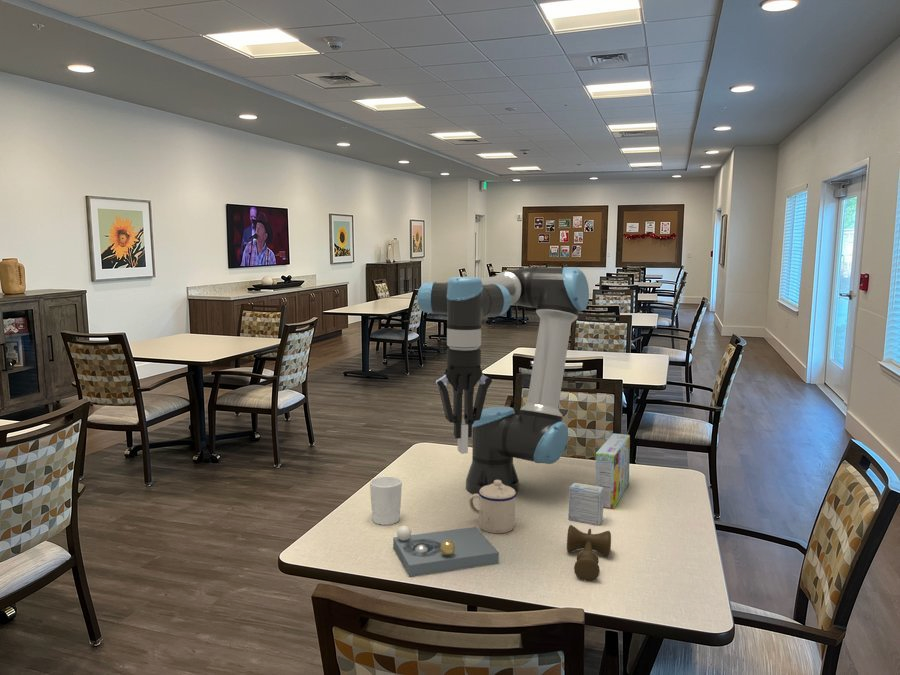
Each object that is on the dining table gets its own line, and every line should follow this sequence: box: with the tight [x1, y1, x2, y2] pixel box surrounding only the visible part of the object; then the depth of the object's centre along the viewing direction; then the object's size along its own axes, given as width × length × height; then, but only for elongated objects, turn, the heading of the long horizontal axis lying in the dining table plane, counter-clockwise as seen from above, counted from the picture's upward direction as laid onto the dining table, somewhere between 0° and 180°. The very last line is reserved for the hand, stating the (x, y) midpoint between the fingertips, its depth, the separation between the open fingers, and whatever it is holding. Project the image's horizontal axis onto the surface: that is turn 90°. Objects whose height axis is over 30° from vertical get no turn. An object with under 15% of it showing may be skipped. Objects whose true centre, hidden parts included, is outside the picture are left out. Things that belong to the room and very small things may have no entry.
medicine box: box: [567, 482, 604, 526], centre depth 164 cm, size 8×4×9 cm, turn 65°
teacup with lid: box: [468, 480, 517, 534], centre depth 160 cm, size 12×9×12 cm
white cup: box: [369, 475, 403, 526], centre depth 163 cm, size 8×8×10 cm
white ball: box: [396, 525, 412, 541], centre depth 146 cm, size 3×3×3 cm
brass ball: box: [440, 540, 455, 556], centre depth 139 cm, size 3×3×3 cm
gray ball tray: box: [392, 526, 500, 578], centre depth 144 cm, size 20×14×2 cm
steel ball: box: [414, 544, 429, 552], centre depth 143 cm, size 3×3×3 cm
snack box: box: [594, 433, 631, 510], centre depth 181 cm, size 21×6×15 cm, turn 154°
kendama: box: [566, 524, 612, 582], centre depth 143 cm, size 6×10×20 cm
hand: (462, 451), depth 146 cm, fingers closed
